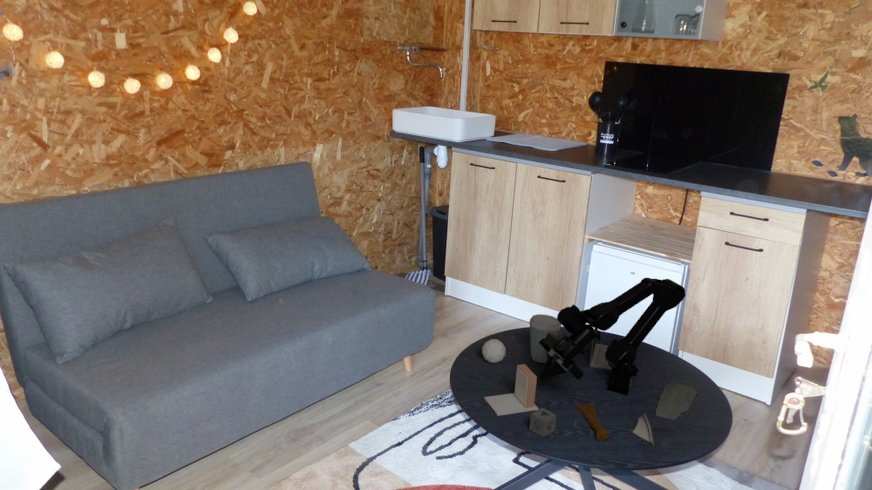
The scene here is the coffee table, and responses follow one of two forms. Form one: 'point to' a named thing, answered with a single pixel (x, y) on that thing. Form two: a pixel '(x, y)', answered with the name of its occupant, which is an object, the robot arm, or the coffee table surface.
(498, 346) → the geometric ball
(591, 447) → the coffee table surface
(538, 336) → the disposable coffee cup
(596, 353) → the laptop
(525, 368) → the tile
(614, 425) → the coffee table surface
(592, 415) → the primitive tool
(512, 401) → the mat
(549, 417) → the dice cube
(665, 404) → the stone slab
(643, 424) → the ceramic fragment
